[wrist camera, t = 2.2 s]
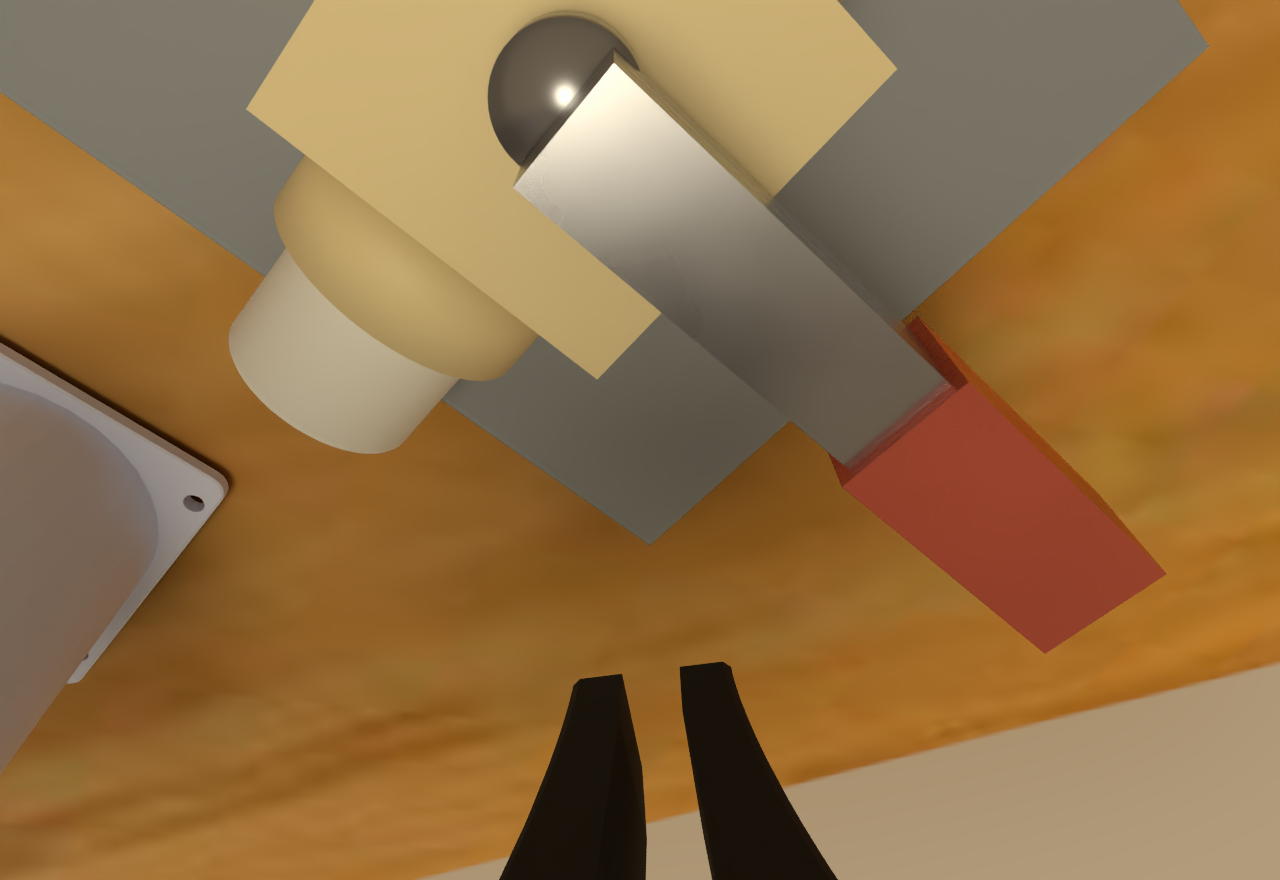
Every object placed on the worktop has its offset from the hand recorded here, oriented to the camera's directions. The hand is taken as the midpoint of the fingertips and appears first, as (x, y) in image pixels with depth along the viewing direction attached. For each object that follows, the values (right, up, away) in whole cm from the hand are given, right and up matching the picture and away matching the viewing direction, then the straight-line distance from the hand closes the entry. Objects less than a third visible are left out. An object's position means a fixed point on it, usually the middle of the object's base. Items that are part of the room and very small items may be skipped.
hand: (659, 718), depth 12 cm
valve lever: (+2, +6, +1) cm, 7 cm away
